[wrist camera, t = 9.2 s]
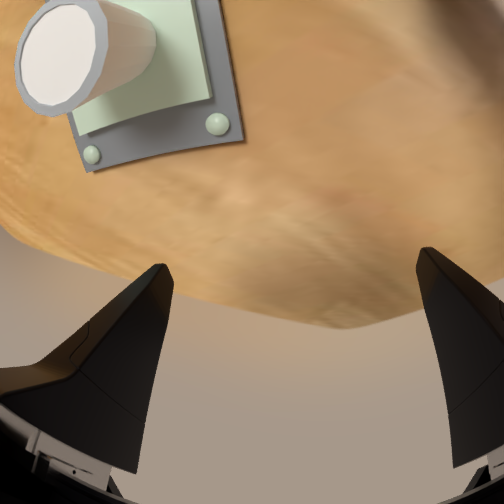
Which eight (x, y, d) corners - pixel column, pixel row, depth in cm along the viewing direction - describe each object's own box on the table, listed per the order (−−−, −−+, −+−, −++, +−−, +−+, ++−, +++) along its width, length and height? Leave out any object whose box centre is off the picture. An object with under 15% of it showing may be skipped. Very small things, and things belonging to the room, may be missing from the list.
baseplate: (205, -72, 8) (199, -81, 7) (244, 137, 19) (241, 144, 18) (50, -2, 11) (37, -2, 9) (91, 169, 22) (80, 177, 20)
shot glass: (87, 10, 11) (18, 10, 6) (173, 0, 12) (118, -21, 6) (79, 93, 16) (13, 120, 10) (159, 93, 16) (102, 117, 10)
